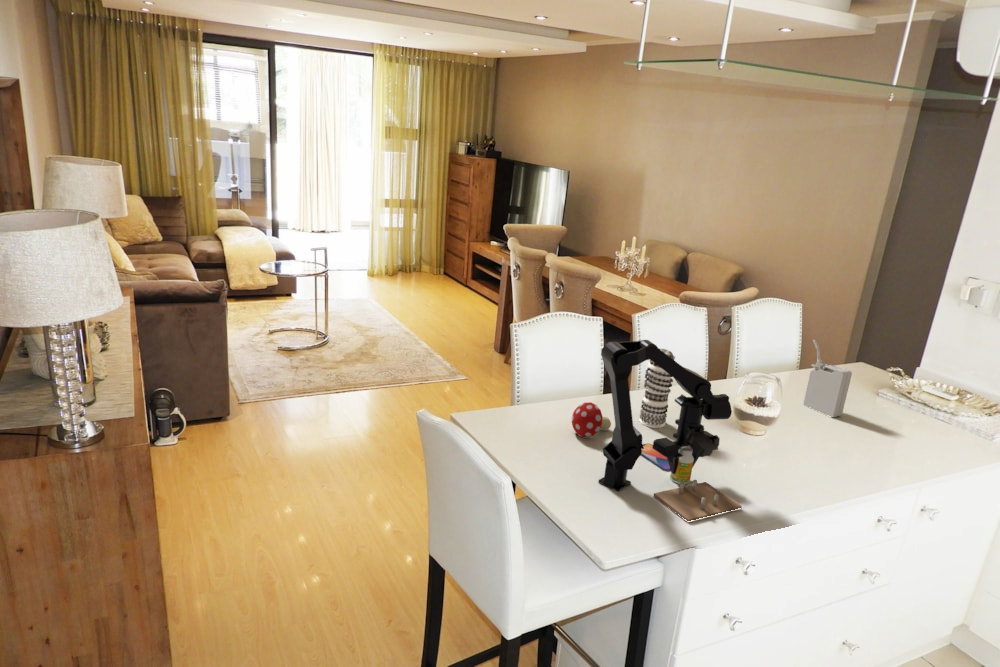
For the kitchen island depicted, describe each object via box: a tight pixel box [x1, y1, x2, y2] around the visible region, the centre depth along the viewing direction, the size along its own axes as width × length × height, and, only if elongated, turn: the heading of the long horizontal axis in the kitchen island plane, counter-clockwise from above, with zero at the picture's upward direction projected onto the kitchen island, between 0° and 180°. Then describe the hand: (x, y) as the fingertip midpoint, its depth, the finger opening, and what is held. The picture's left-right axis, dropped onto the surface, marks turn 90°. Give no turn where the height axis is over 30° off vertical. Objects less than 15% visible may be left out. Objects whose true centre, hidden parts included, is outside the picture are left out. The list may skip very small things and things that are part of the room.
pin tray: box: [653, 479, 743, 521], centre depth 171 cm, size 18×13×4 cm
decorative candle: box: [638, 348, 676, 429], centre depth 216 cm, size 9×9×25 cm
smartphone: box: [640, 442, 671, 472], centre depth 195 cm, size 7×15×1 cm, turn 29°
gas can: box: [803, 338, 853, 418], centre depth 240 cm, size 15×5×25 cm, turn 26°
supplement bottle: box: [669, 446, 694, 485], centre depth 181 cm, size 5×5×10 cm
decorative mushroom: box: [571, 401, 612, 439], centre depth 207 cm, size 11×11×15 cm
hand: (681, 471), depth 182 cm, fingers closed on supplement bottle, 5 cm apart
